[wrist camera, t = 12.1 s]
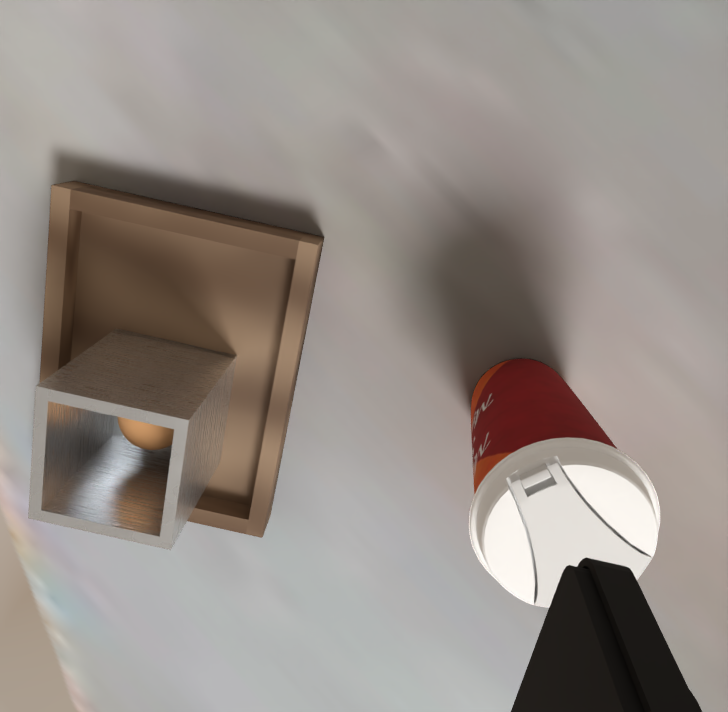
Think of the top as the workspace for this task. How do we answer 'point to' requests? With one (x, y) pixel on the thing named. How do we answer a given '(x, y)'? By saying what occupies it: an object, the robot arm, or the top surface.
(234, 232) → the walnut tray
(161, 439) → the mixing ball
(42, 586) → the top surface
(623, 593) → the robot arm
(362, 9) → the top surface
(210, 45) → the top surface
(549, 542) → the paper cup
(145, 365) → the square metal container
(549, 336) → the top surface
